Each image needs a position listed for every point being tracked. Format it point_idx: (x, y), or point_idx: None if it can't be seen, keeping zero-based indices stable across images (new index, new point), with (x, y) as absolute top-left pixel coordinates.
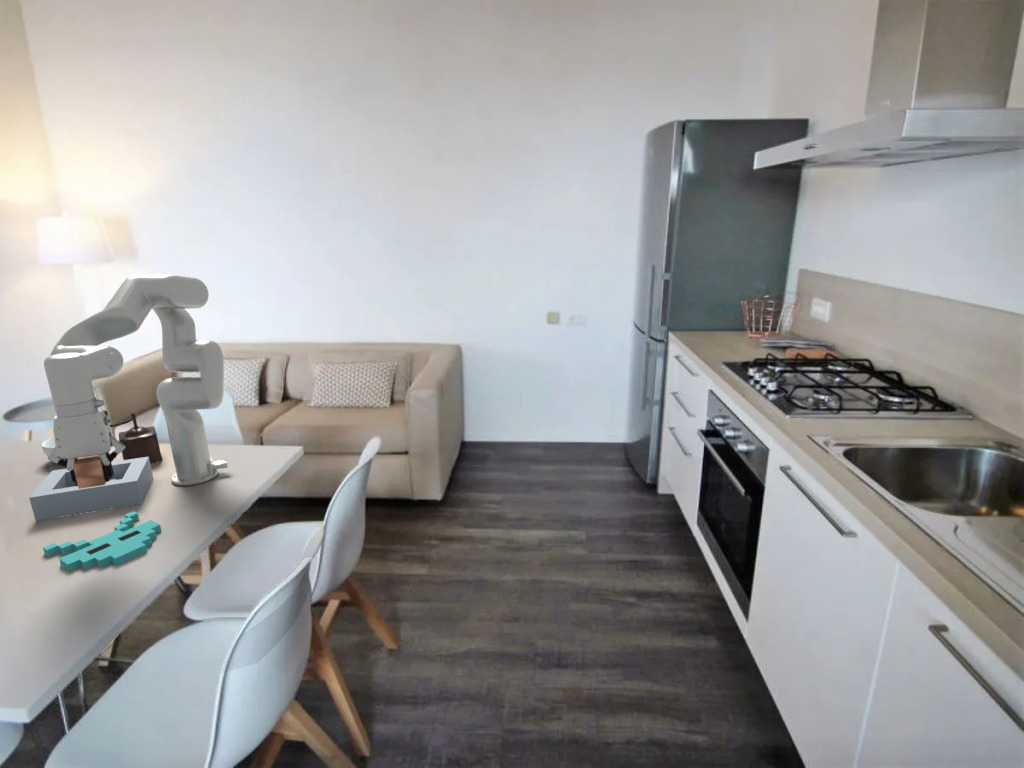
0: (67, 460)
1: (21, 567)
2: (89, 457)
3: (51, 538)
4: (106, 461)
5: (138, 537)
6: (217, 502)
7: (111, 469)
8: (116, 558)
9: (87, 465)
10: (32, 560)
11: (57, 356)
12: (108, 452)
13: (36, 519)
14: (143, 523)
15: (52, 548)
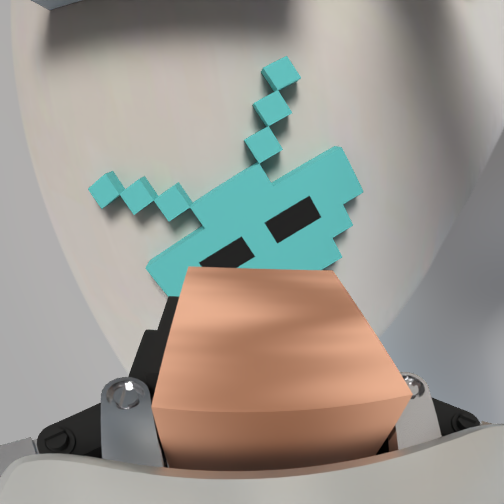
0: (98, 457)
1: (73, 231)
2: (277, 455)
3: (89, 103)
4: (381, 447)
5: (315, 242)
6: (460, 105)
7: None
8: None
9: None
10: (82, 208)
11: None
12: (435, 436)
13: (48, 8)
14: (323, 158)
15: (110, 201)
